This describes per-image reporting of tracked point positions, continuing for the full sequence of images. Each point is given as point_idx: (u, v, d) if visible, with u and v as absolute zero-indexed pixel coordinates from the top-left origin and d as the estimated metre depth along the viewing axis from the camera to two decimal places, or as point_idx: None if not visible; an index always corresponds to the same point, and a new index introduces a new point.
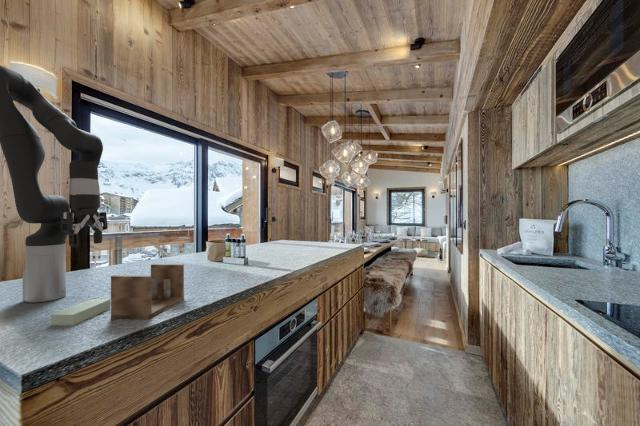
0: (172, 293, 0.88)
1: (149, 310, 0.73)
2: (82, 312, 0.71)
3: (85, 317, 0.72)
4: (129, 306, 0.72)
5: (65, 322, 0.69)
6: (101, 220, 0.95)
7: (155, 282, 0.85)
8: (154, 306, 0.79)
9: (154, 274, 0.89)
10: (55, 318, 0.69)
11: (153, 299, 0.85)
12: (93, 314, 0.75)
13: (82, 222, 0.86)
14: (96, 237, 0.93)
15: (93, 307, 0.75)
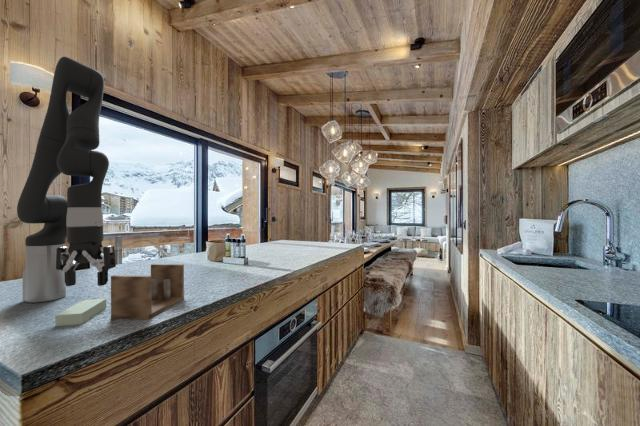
0: (172, 293, 0.88)
1: (149, 310, 0.73)
2: (87, 311, 0.72)
3: (89, 316, 0.73)
4: (129, 306, 0.72)
5: (72, 321, 0.69)
6: (65, 257, 0.75)
7: (155, 282, 0.85)
8: (154, 306, 0.79)
9: (154, 274, 0.89)
10: (60, 318, 0.68)
11: (153, 299, 0.85)
12: (95, 313, 0.75)
13: None
14: (72, 278, 0.75)
15: (95, 306, 0.75)
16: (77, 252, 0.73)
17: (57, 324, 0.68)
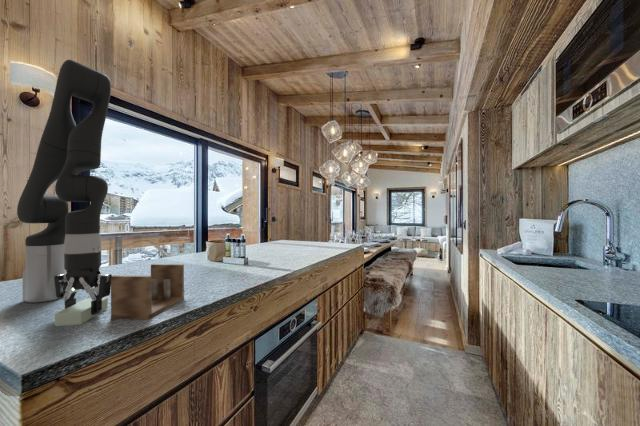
0: (172, 293, 0.88)
1: (149, 310, 0.73)
2: (87, 310, 0.72)
3: (89, 315, 0.73)
4: (129, 306, 0.72)
5: (71, 320, 0.69)
6: (64, 284, 0.75)
7: (155, 282, 0.85)
8: (154, 306, 0.79)
9: (154, 274, 0.89)
10: (60, 317, 0.68)
11: (153, 299, 0.85)
12: None
13: None
14: None
15: None
16: (74, 278, 0.73)
17: (57, 323, 0.68)
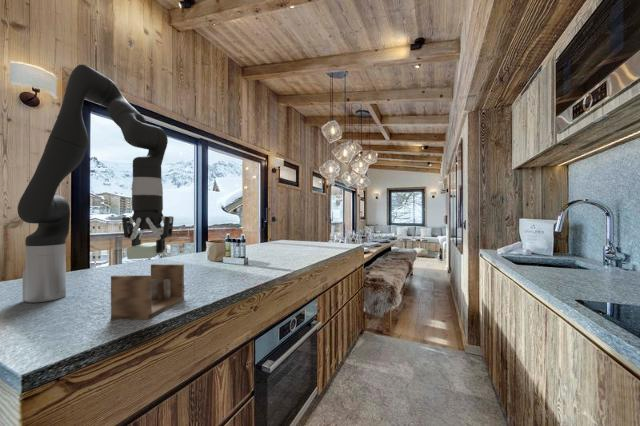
0: (172, 293, 0.88)
1: (149, 310, 0.73)
2: (153, 247, 0.77)
3: (155, 252, 0.78)
4: (129, 306, 0.72)
5: (141, 254, 0.75)
6: (130, 226, 0.81)
7: (155, 282, 0.85)
8: (154, 306, 0.79)
9: (154, 274, 0.89)
10: (131, 251, 0.74)
11: (153, 299, 0.85)
12: None
13: None
14: None
15: None
16: (141, 218, 0.79)
17: (129, 256, 0.74)
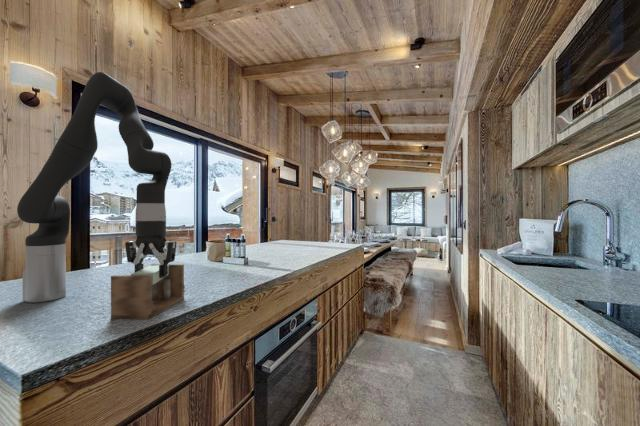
0: (172, 293, 0.88)
1: (149, 310, 0.73)
2: (156, 273, 0.78)
3: (158, 277, 0.79)
4: (129, 306, 0.72)
5: None
6: (133, 250, 0.82)
7: None
8: (154, 306, 0.79)
9: None
10: None
11: (153, 299, 0.85)
12: None
13: None
14: None
15: None
16: (144, 244, 0.79)
17: None
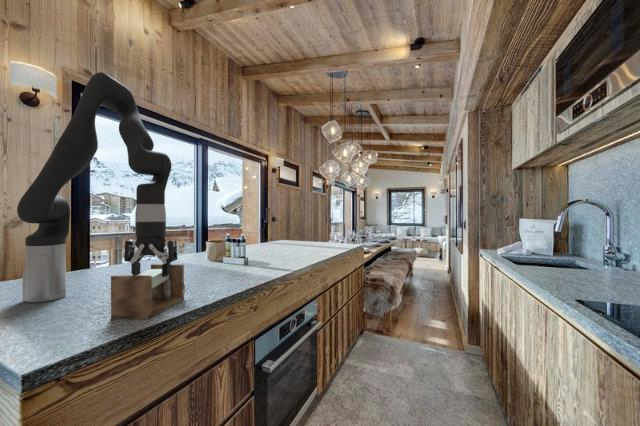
0: (172, 293, 0.88)
1: (149, 310, 0.73)
2: (155, 277, 0.78)
3: (157, 281, 0.79)
4: (129, 306, 0.72)
5: None
6: (132, 249, 0.82)
7: None
8: (154, 306, 0.79)
9: None
10: None
11: (153, 299, 0.85)
12: (161, 280, 0.82)
13: None
14: (137, 269, 0.81)
15: (161, 273, 0.82)
16: (144, 245, 0.79)
17: None
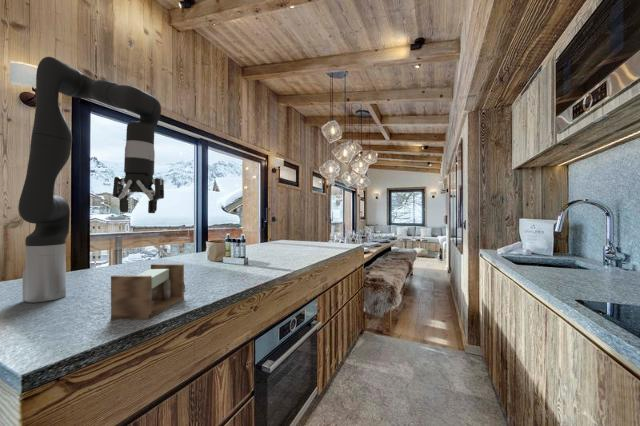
0: (172, 293, 0.88)
1: (149, 310, 0.73)
2: (155, 277, 0.78)
3: (157, 281, 0.79)
4: (129, 306, 0.72)
5: None
6: (121, 186, 0.85)
7: None
8: (154, 306, 0.79)
9: None
10: None
11: (153, 299, 0.85)
12: (161, 280, 0.82)
13: None
14: (125, 205, 0.84)
15: (161, 273, 0.82)
16: (132, 181, 0.82)
17: None
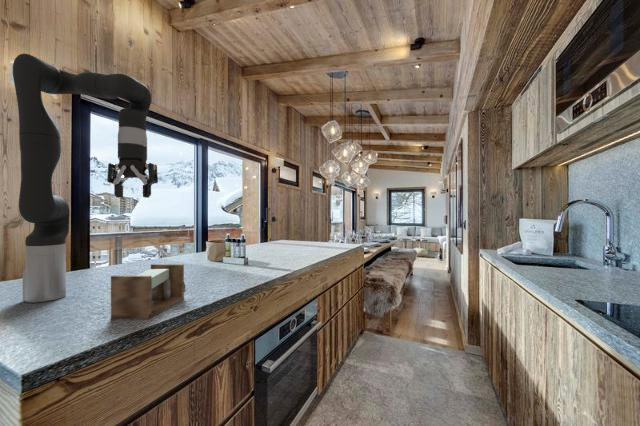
0: (172, 293, 0.88)
1: (149, 310, 0.73)
2: (155, 277, 0.78)
3: (157, 281, 0.79)
4: (129, 306, 0.72)
5: None
6: (115, 173, 0.87)
7: None
8: (154, 306, 0.79)
9: None
10: None
11: (153, 299, 0.85)
12: (161, 280, 0.82)
13: None
14: (120, 191, 0.86)
15: (161, 273, 0.82)
16: (126, 166, 0.85)
17: None
